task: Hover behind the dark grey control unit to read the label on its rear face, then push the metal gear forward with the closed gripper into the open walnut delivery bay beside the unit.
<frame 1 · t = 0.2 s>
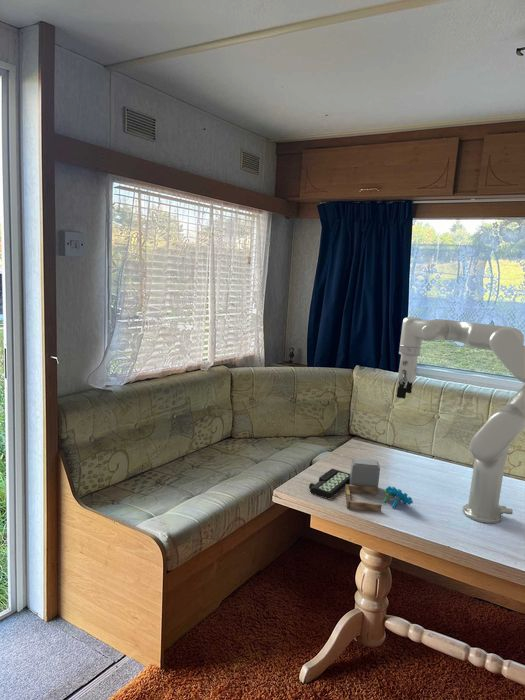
hand: (403, 395, 195), 36 cm above the table, tool pointing down, fingers open, 9 cm apart
digital display: (329, 487, 196), on the table
gear: (396, 505, 184), on the table
control unit: (363, 488, 196), on the table
delivery bay: (362, 500, 185), on the table
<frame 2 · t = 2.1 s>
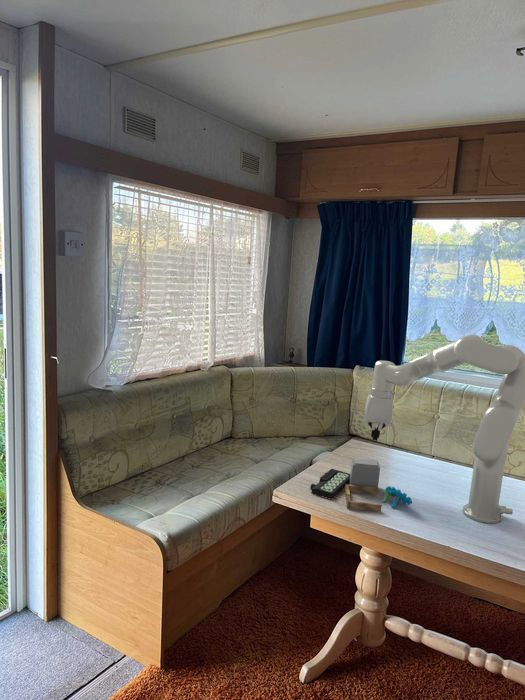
hand: (374, 439, 199), 18 cm above the table, tool pointing down, fingers closed
nothing on the table moved.
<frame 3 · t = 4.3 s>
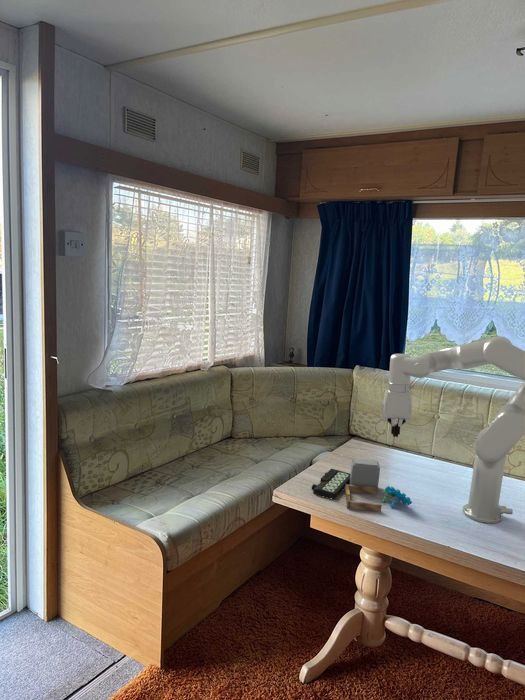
hand: (395, 435, 192), 22 cm above the table, tool pointing down, fingers closed
nothing on the table moved.
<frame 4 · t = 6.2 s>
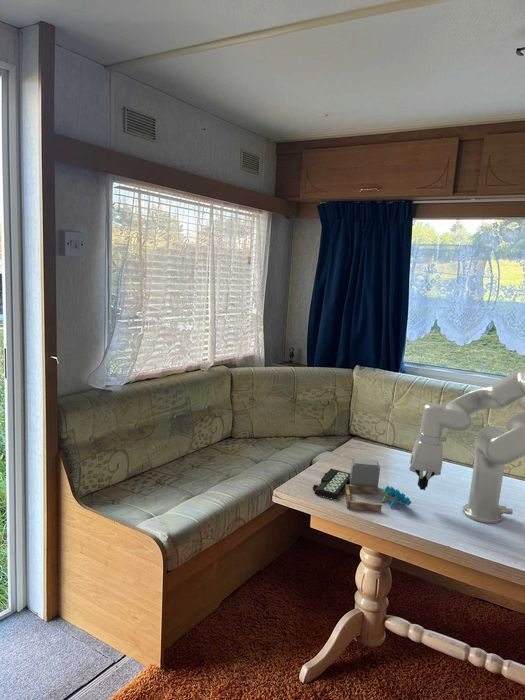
hand: (422, 488, 182), 7 cm above the table, tool pointing down, fingers closed
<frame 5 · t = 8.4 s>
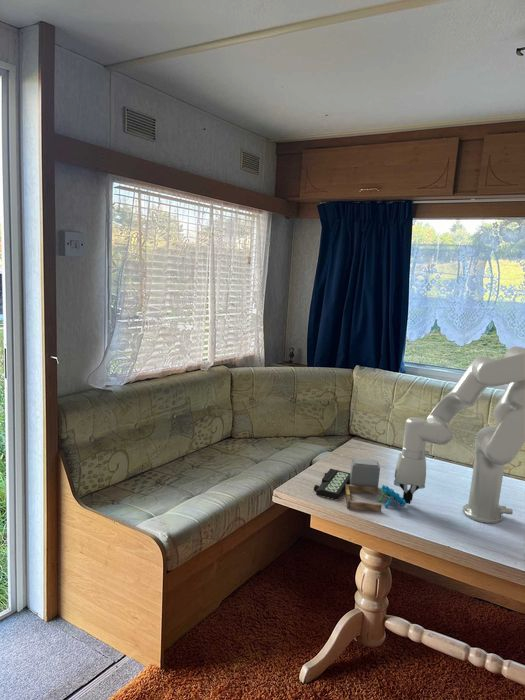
hand: (407, 501, 183), 1 cm above the table, tool pointing down, fingers closed
gear: (391, 505, 184), on the table, touching gripper
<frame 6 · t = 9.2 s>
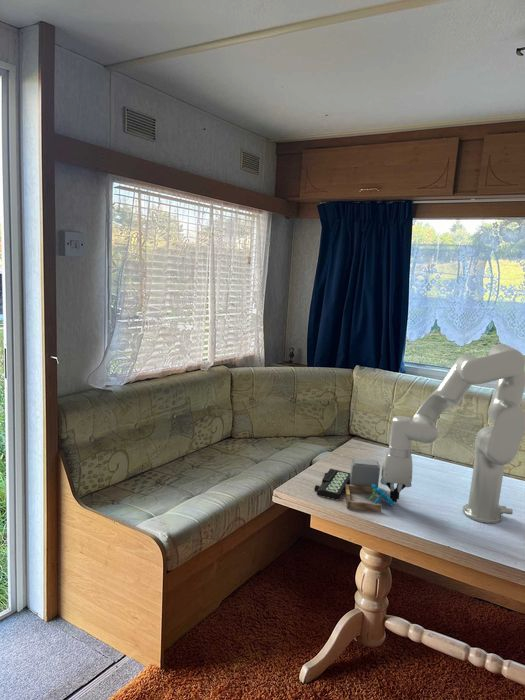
hand: (393, 500, 184), 1 cm above the table, tool pointing down, fingers closed
gear: (380, 504, 184), on the table, touching gripper
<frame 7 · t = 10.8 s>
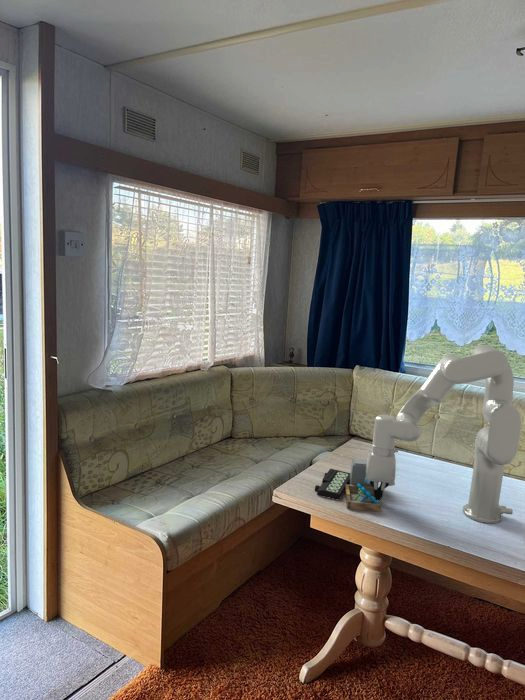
hand: (377, 498, 184), 1 cm above the table, tool pointing down, fingers closed
gear: (366, 504, 183), on the table
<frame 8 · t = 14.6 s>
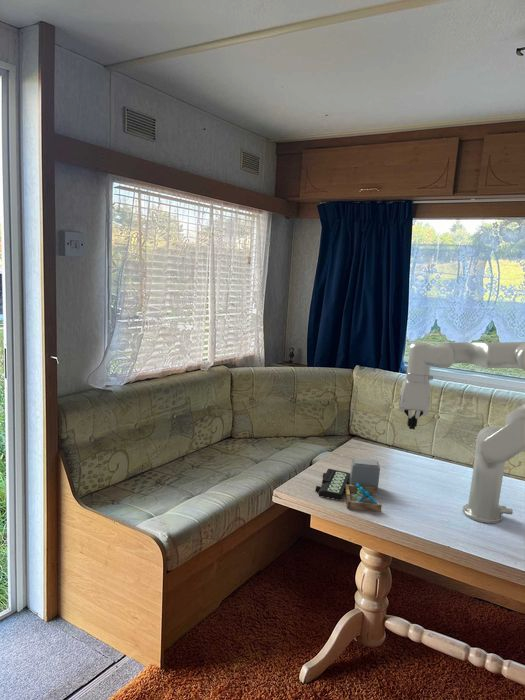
hand: (411, 428, 184), 27 cm above the table, tool pointing down, fingers closed
at the end: gear inside the target area on the delivery bay (1.8 cm from its centre), point 0.0 cm above the delivery bay's base; gear moved 11.7 cm from its start; gear touching table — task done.
